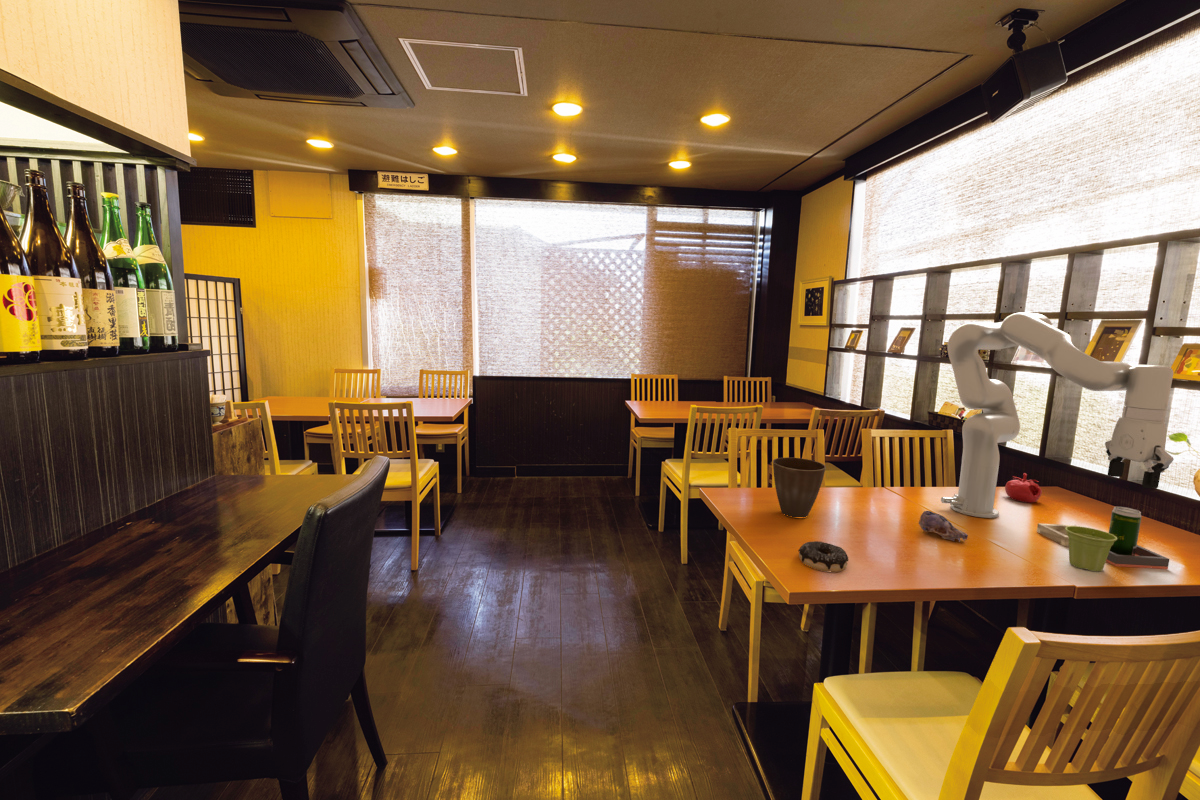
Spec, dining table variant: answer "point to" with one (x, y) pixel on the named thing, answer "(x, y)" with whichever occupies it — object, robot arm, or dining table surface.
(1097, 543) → the plant pot
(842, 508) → the dining table surface
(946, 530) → the skull
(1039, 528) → the cedar frame
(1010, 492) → the pomegranate
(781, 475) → the plant pot
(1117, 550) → the beer can
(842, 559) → the donut
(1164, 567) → the lacquer tray
